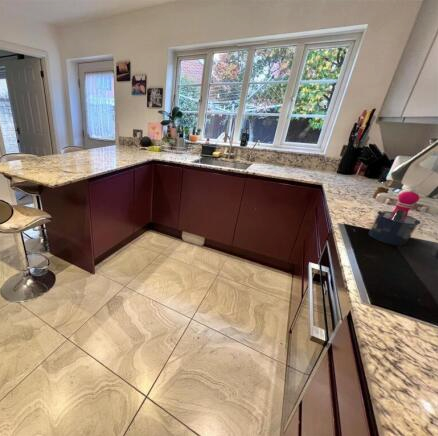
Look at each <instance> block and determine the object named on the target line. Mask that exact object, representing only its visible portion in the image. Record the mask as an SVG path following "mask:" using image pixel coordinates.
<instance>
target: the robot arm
mask: <svg viewBox="0 0 438 436" xmlns="http://www.w3.org/2000/svg"><path fill="white" fill-rule="evenodd" d="M436 153H438V139H437V140H435V141H433V142H431V144H429V145H427V146H426V147H424V149H421V151H419V152H418V153H416V154H415V155H413V156H412V157H411V158H409V159H408V160H406V161H404V162H402V163H401V164H399V165H397V166H396V167H395V168H394V169H393V170H392V172H391V173H390V176H391V177H390V178H391V179H392V181H393V182H396V183H399V184H402V185H404V186H406V187H405V188H404V189H401V190H400V191H399V192H398V193H397V194H393V193H389V192H388V193H379V194H377V196H376V198H375V199H374V201H375V203H376V202H377V203H381V204H385V205H387V206H394V207H396V206H397V204H396V203H397V202H398V201H399V199H398V197H399V195H400V194H401V193H403V192H410V191H409V190H410V189H412V188H414V189H416V191H415V192H414V193H416V194H418V195H419V200H418V201H417V202H416V203H414V206H413V207H412V208H410V210H409V211H412V212H417V213H425V214H427V215H433V216H437V215H438V198H435V197H436V196H437V195H438V172H437V171H434V170H432V169H429V168H427V167H425V166H422V165H420V164H421V163H422V162H424V161H425V160H427V159H429V158H430V157H432V156H433V155H435V154H436Z"/></svg>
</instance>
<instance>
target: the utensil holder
mask: <svg viewBox="0 0 438 436" xmlns="http://www.w3.org/2000/svg"><path fill="white" fill-rule="evenodd" d="M393 182H394V181H393V180H389V182H388V183H387V186H386V187H385V185H386V182H385V181H383V182H381V183H379V186H378V187H377V188H376V190H375V191H374V192H373V195H372V198H373V199H374V200H375V198H376V196H377V194H379V193H388V194H389V191H390V190H389V187H390V186H391V185H392V183H393Z"/></svg>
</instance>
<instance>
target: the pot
mask: <svg viewBox="0 0 438 436" xmlns="http://www.w3.org/2000/svg"><path fill="white" fill-rule="evenodd" d="M417 227H418V225H408V224H402V223H398V222H394V221H390V220H387V219H385V218H382V217H380V216H379V215H378V214H377V215H376V217H375V219H374V221H373V223H372V225H371V227H370V229H369V231H368V236H370V238H372V239H375V240H376V241H379V242H382V243H385V244H387V245H393V246H401V247H402V246H405V245H406V244H407V243H408V241H410V238H411V237H412V235H413V234H414V232H415V231H416V228H417Z"/></svg>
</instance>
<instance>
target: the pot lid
mask: <svg viewBox="0 0 438 436" xmlns="http://www.w3.org/2000/svg"><path fill="white" fill-rule="evenodd" d="M405 212H406V211H405V210H402V209H398V210H397V211H396V213H395V212H393V211H390V210H389V211H388V210H378V211H377V212H376V214H377V215H379V216H380V217H382V218H385V219H387V220H390V221H394V222H398V223H402V224H408V225H417V226H419V225H420V224H421V221H420V220H419V219H417V218H415V217H412V216H410V215H408V214H407V215H404V214H405Z"/></svg>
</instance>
